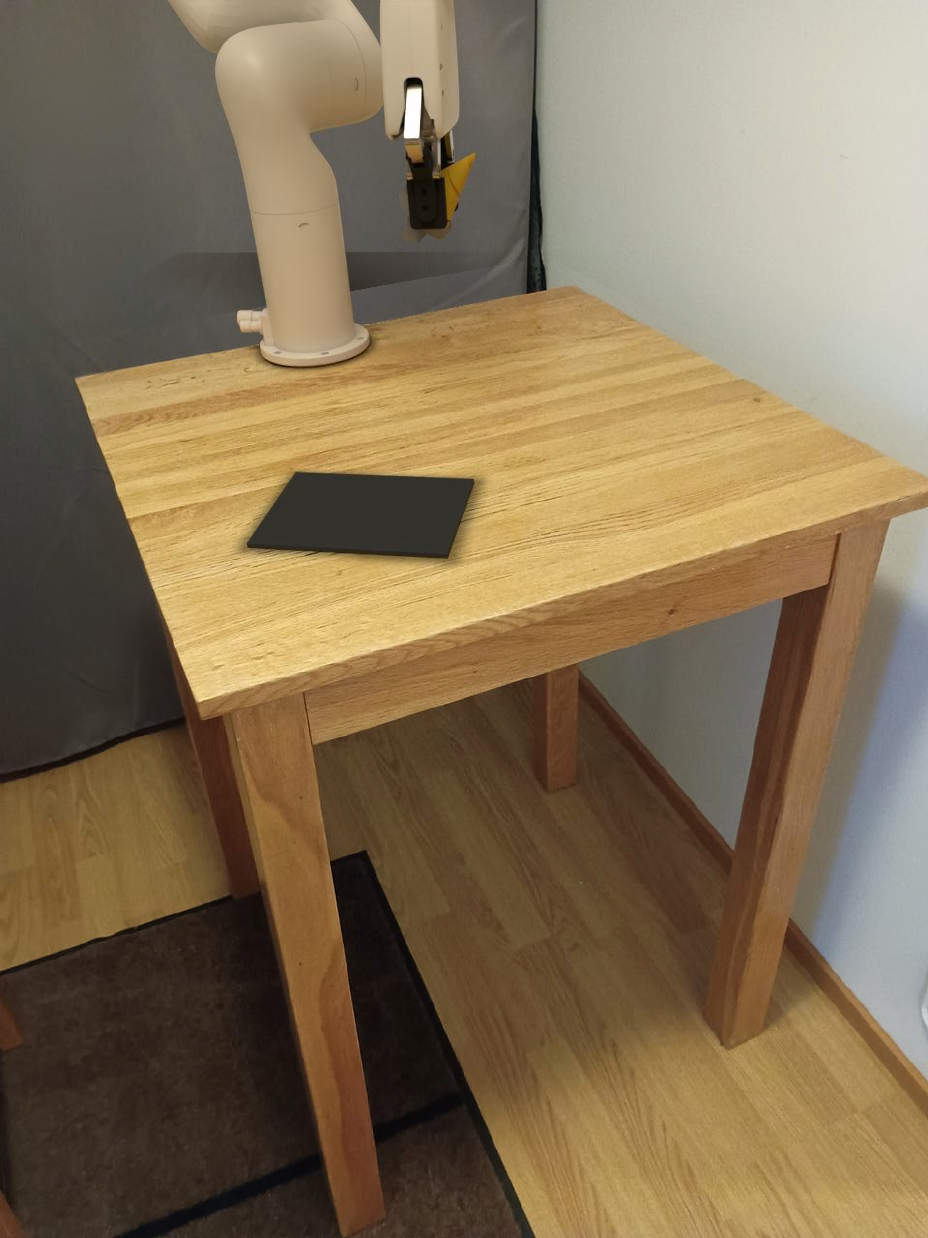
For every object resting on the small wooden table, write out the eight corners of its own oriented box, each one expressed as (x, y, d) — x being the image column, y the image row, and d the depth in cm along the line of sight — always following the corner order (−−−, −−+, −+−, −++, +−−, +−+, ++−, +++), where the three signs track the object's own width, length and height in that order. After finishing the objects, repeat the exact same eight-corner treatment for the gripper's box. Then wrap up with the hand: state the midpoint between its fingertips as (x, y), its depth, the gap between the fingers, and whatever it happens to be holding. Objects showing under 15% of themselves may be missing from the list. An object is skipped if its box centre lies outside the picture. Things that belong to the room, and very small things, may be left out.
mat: (247, 547, 72) (246, 543, 72) (296, 475, 82) (295, 471, 82) (447, 558, 70) (447, 553, 69) (474, 482, 79) (474, 478, 79)
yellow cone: (417, 232, 87) (489, 149, 82) (430, 270, 85) (505, 187, 79) (373, 205, 83) (445, 116, 78) (385, 244, 81) (461, 155, 75)
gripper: (392, -28, 79) (412, 199, 90) (342, -21, 66) (373, 246, 76) (479, -35, 78) (489, 196, 89) (447, -29, 64) (462, 243, 75)
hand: (435, 217), depth 82 cm, fingers closed on yellow cone, 5 cm apart
